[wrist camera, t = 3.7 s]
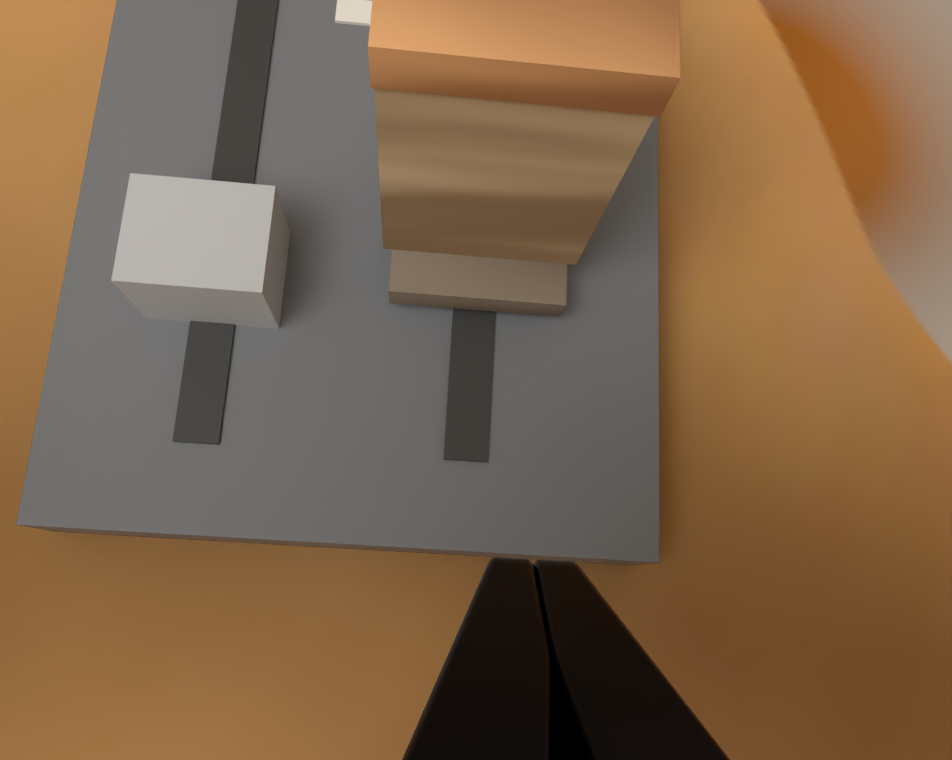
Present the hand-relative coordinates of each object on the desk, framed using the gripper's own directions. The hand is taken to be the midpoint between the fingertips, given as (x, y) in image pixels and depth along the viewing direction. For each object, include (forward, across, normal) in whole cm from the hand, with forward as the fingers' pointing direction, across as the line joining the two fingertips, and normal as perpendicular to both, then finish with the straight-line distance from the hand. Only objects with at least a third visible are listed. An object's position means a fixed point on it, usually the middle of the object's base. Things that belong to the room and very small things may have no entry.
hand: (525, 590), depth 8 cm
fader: (+13, 0, +1) cm, 13 cm away
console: (+16, +3, +2) cm, 16 cm away
